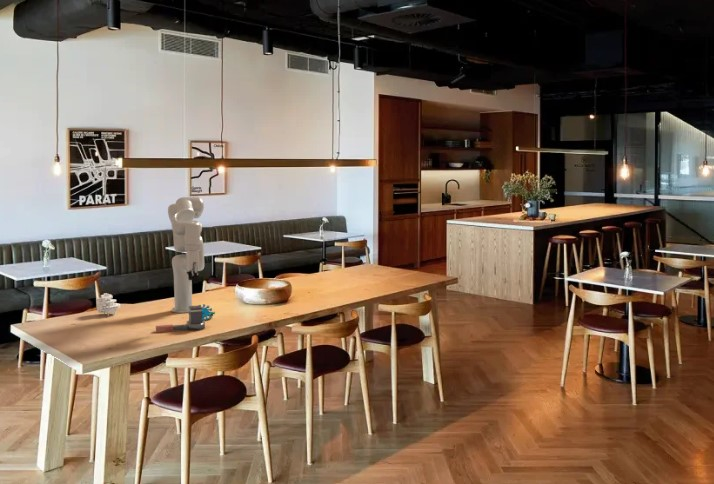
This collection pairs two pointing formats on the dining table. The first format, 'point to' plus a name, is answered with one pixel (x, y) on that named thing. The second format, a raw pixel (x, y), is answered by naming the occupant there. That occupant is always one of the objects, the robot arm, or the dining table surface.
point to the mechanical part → (107, 304)
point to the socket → (195, 314)
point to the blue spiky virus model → (206, 312)
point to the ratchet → (180, 327)
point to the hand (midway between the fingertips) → (193, 281)
